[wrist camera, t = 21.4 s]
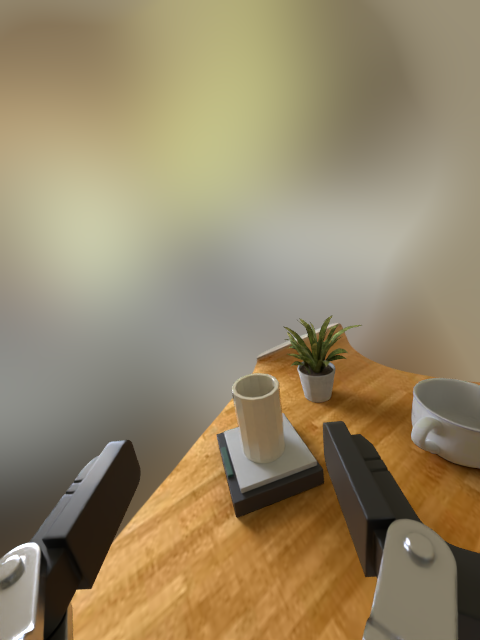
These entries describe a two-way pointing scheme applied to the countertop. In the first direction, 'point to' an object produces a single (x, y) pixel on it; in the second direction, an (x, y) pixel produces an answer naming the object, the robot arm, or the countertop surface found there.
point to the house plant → (317, 361)
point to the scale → (267, 471)
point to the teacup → (448, 419)
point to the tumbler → (259, 417)
